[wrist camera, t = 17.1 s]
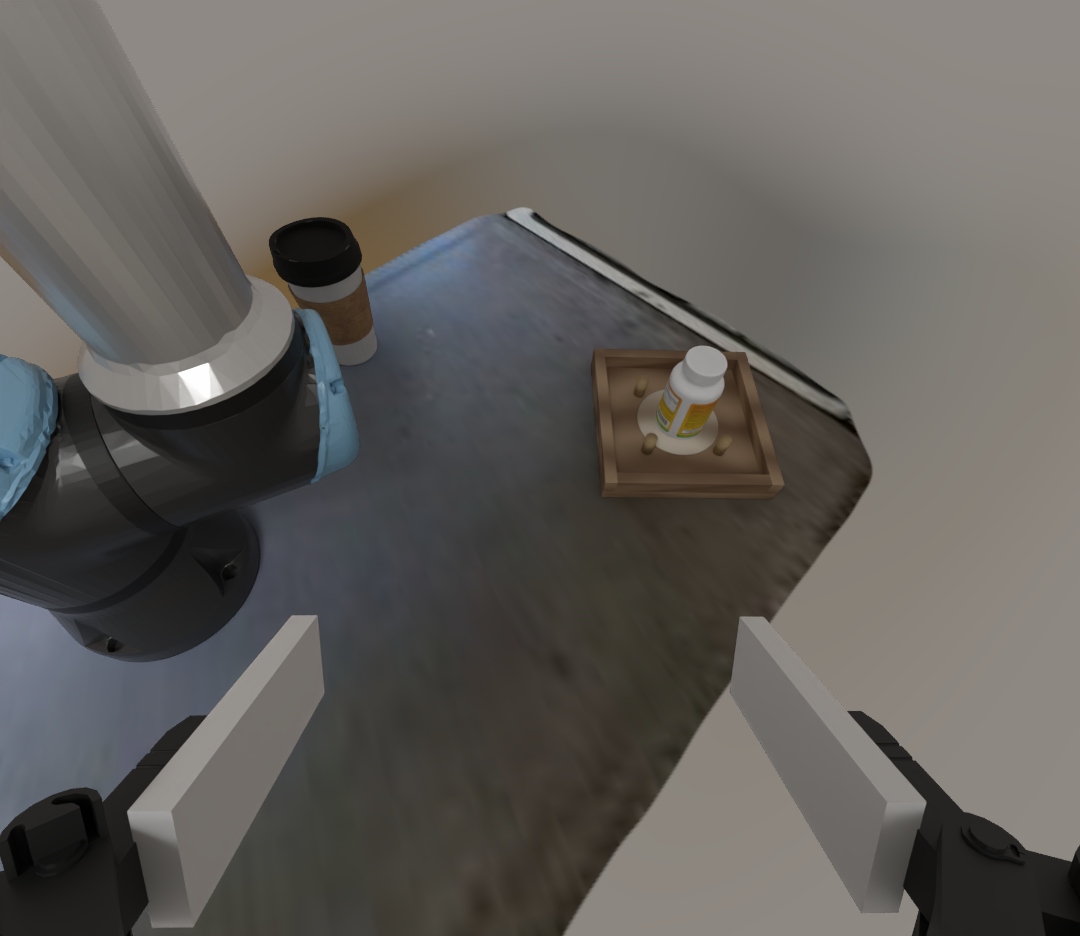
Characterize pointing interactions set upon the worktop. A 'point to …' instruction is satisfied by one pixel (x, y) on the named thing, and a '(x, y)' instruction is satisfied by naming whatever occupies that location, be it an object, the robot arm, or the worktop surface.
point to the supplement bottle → (691, 393)
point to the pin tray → (672, 464)
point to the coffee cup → (328, 282)
